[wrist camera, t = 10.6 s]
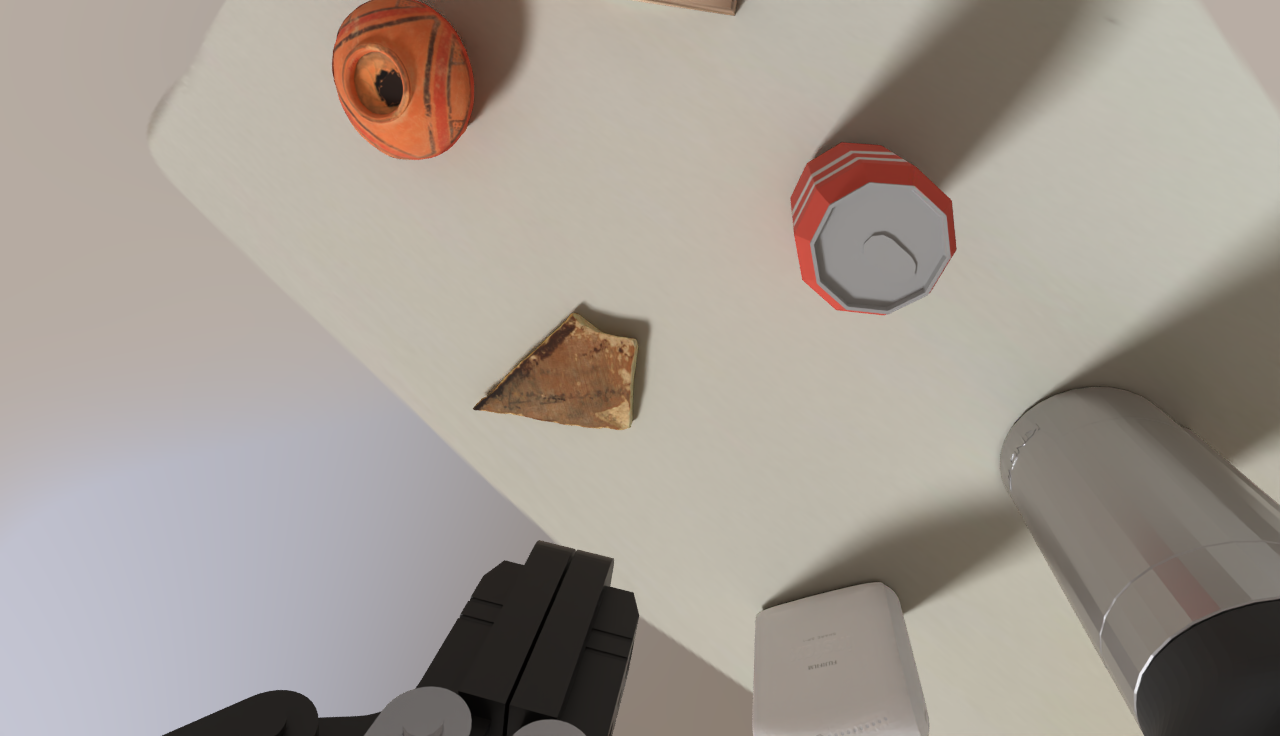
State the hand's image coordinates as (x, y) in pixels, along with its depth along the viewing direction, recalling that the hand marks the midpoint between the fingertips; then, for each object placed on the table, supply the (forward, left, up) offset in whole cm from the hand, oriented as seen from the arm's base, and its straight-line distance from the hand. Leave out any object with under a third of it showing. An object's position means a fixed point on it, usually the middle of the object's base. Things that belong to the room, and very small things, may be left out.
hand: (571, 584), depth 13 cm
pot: (+17, -6, -29) cm, 35 cm away
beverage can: (-7, -4, -29) cm, 30 cm away
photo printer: (-13, +24, -29) cm, 40 cm away
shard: (+7, +11, -30) cm, 32 cm away
